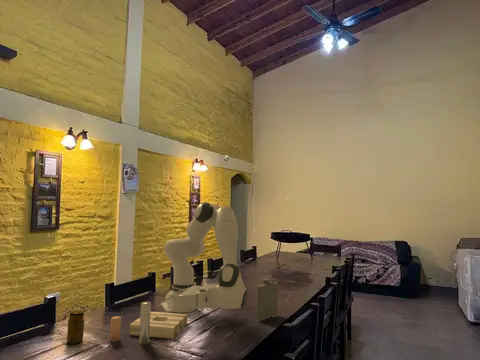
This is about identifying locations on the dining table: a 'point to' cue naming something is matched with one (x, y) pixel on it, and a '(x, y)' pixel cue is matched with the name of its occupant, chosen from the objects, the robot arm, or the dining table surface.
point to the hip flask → (266, 300)
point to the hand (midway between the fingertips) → (174, 293)
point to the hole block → (162, 324)
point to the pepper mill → (203, 278)
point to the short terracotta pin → (115, 329)
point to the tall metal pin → (145, 322)
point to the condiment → (75, 329)
